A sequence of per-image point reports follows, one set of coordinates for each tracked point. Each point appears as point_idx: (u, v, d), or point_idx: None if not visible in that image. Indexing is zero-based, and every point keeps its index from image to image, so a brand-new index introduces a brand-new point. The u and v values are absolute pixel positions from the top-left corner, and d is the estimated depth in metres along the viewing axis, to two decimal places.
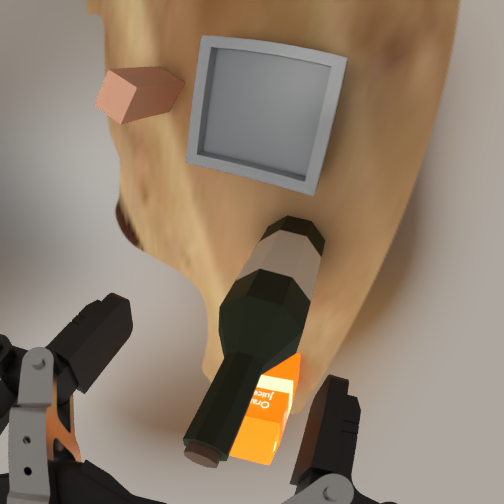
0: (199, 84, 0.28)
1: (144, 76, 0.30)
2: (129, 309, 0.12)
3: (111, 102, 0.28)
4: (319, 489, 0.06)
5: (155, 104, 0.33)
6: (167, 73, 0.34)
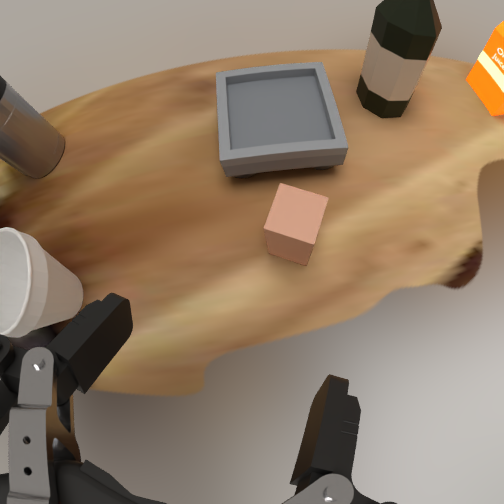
0: (268, 149, 0.33)
1: None
2: (129, 309, 0.12)
3: (305, 215, 0.28)
4: (319, 489, 0.06)
5: None
6: None
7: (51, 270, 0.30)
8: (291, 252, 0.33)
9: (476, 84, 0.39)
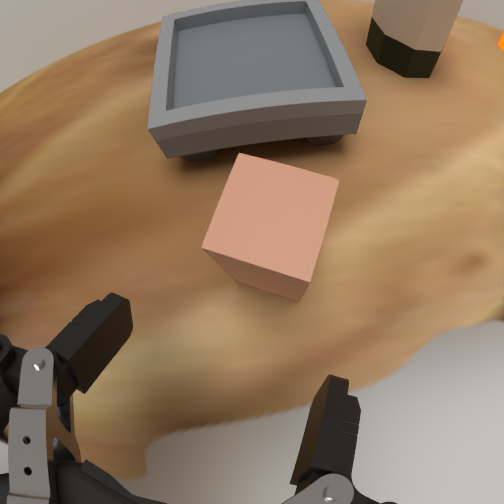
0: (228, 105, 0.18)
1: None
2: (129, 309, 0.12)
3: (290, 217, 0.13)
4: (319, 489, 0.06)
5: None
6: None
7: None
8: (269, 285, 0.18)
9: None
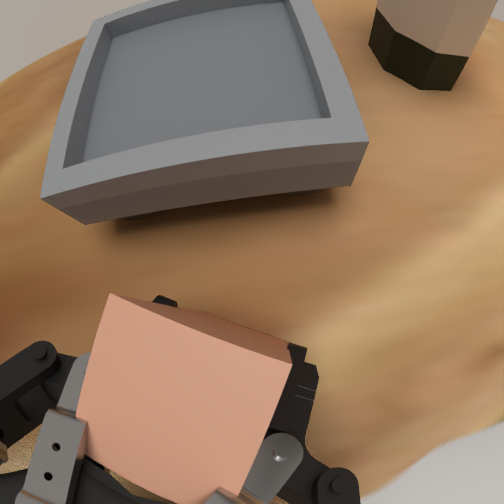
0: (139, 159, 0.11)
1: None
2: None
3: (192, 431, 0.06)
4: (267, 451, 0.07)
5: (244, 332, 0.12)
6: None
7: None
8: None
9: None
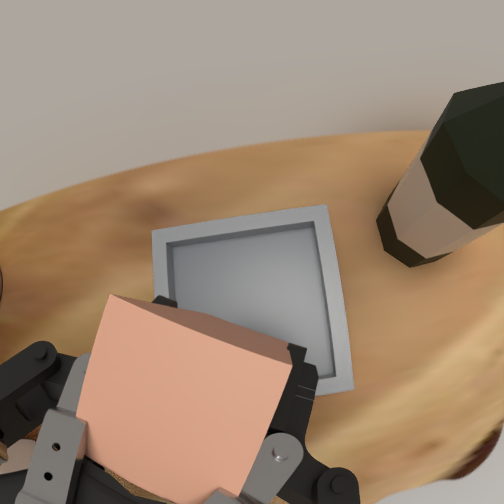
0: None
1: None
2: None
3: (192, 433, 0.06)
4: (267, 451, 0.07)
5: (244, 332, 0.12)
6: None
7: None
8: None
9: None
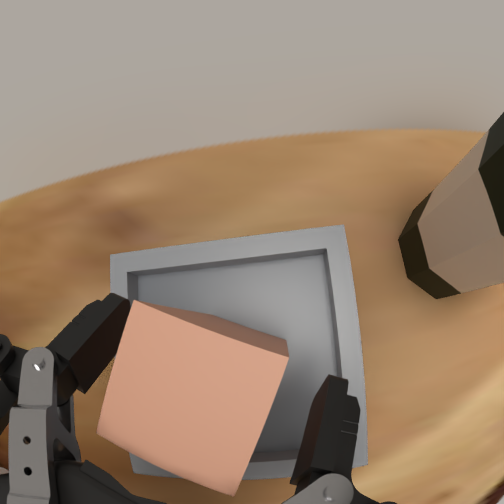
0: None
1: None
2: (129, 309, 0.12)
3: (206, 415, 0.08)
4: (319, 489, 0.06)
5: (247, 331, 0.13)
6: None
7: None
8: None
9: None
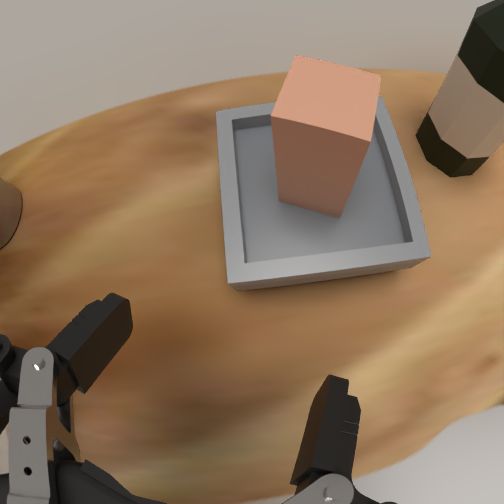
0: (308, 265, 0.20)
1: None
2: (129, 309, 0.12)
3: (346, 96, 0.13)
4: (319, 489, 0.06)
5: None
6: None
7: None
8: (319, 185, 0.18)
9: None
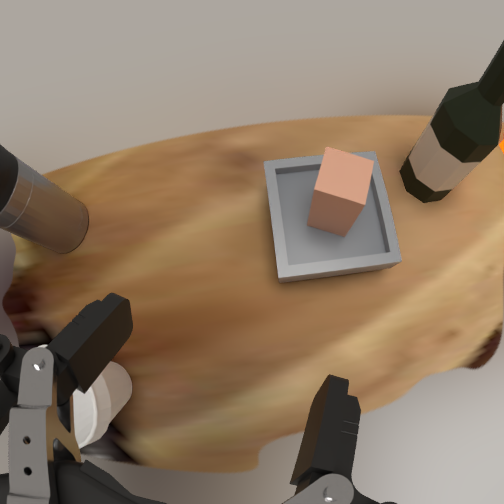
0: (326, 266, 0.33)
1: None
2: (129, 309, 0.12)
3: (353, 176, 0.26)
4: (319, 489, 0.06)
5: None
6: None
7: (108, 384, 0.30)
8: (334, 219, 0.31)
9: None
